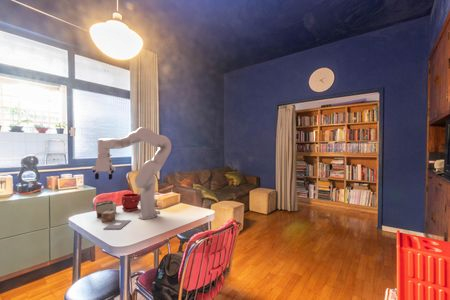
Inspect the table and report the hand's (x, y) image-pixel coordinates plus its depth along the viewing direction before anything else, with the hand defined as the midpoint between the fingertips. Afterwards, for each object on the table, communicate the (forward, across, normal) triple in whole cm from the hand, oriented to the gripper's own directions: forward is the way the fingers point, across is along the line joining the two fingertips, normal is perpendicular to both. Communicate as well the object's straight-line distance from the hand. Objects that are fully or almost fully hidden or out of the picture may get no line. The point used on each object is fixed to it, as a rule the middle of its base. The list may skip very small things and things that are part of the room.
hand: (103, 179), depth 156 cm
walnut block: (+26, -10, +12) cm, 31 cm away
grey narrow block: (+26, -3, -6) cm, 27 cm away
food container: (+26, 0, +1) cm, 27 cm away
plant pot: (+26, -13, -14) cm, 33 cm away
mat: (+26, -20, +19) cm, 38 cm away
